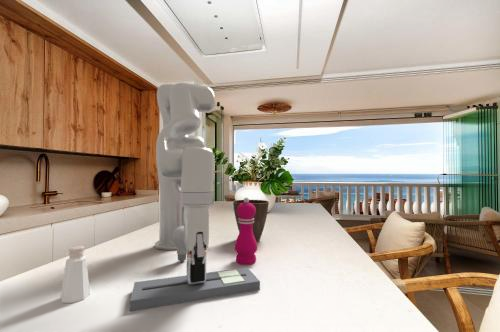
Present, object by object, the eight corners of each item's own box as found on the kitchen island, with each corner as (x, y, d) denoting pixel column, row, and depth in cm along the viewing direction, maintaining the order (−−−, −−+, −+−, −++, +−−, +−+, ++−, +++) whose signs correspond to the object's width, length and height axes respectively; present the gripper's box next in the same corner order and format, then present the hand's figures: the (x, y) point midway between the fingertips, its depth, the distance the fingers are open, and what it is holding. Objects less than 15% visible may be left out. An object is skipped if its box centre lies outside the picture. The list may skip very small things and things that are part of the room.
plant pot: (227, 237, 106) (228, 200, 107) (258, 234, 113) (258, 198, 113) (241, 246, 93) (241, 204, 93) (275, 242, 99) (275, 202, 100)
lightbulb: (195, 259, 79) (196, 225, 79) (184, 266, 73) (185, 229, 73) (179, 257, 81) (179, 223, 81) (167, 263, 75) (168, 227, 75)
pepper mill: (255, 266, 73) (255, 199, 74) (231, 264, 75) (232, 198, 76) (259, 258, 81) (259, 196, 81) (237, 256, 82) (238, 196, 83)
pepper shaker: (56, 305, 51) (58, 252, 51) (64, 294, 56) (65, 245, 56) (87, 300, 53) (88, 249, 54) (91, 289, 58) (93, 242, 59)
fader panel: (134, 290, 58) (134, 281, 58) (247, 274, 67) (247, 266, 67) (129, 311, 49) (130, 299, 49) (259, 289, 59) (259, 280, 59)
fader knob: (186, 277, 59) (187, 248, 60) (203, 275, 61) (203, 247, 61) (188, 284, 56) (188, 254, 56) (206, 282, 57) (206, 252, 57)
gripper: (178, 196, 65) (177, 266, 65) (183, 204, 50) (182, 296, 49) (207, 195, 68) (206, 263, 67) (220, 202, 52) (219, 290, 52)
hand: (196, 276), depth 58 cm, fingers closed on fader knob, 4 cm apart
